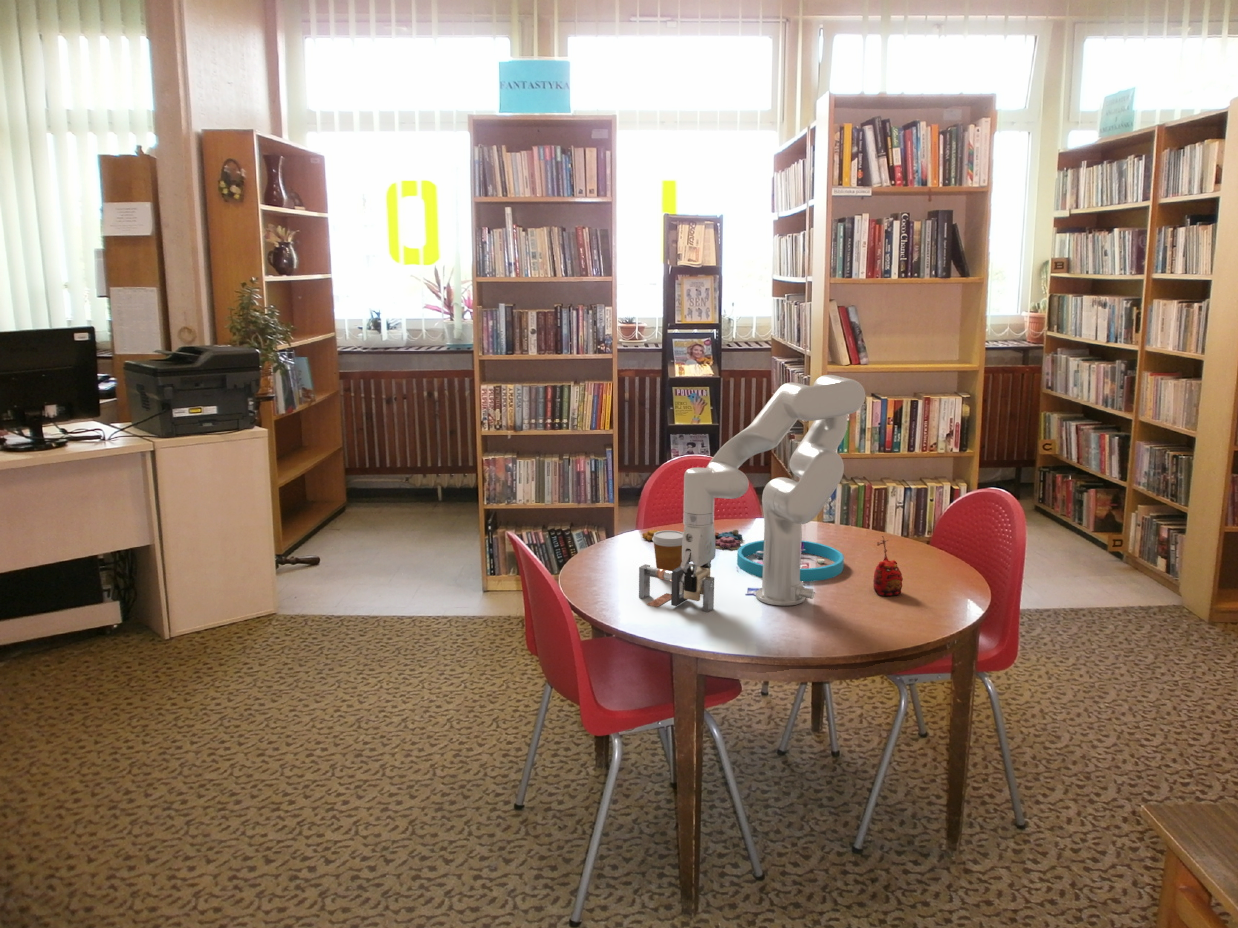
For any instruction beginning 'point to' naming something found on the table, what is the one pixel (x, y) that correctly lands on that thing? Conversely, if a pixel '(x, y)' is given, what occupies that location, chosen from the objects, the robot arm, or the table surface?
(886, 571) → the red clay folk toy
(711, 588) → the grey long flanged piece
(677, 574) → the dark grey u-shaped piece
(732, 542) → the gear puzzle
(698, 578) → the sleeve
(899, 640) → the table surface
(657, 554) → the disposable coffee cup
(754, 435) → the robot arm
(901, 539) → the table surface
